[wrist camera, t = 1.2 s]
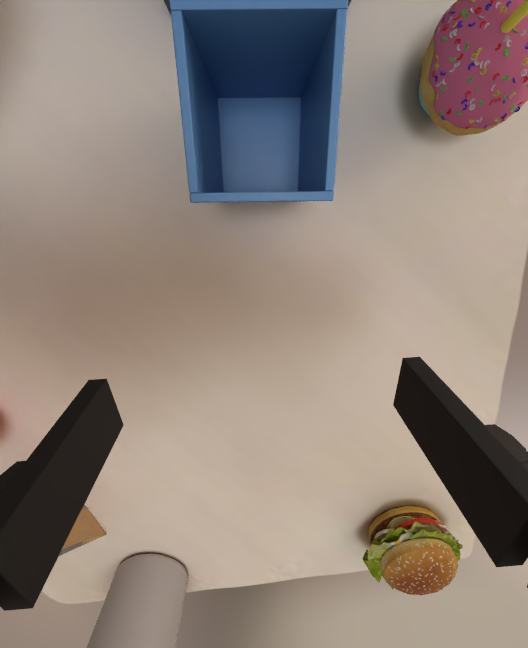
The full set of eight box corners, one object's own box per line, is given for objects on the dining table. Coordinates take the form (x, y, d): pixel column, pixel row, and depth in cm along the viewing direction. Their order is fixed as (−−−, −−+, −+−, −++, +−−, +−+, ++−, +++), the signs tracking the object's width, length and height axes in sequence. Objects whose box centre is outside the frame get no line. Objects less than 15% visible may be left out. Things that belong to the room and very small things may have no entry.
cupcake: (379, 71, 24) (479, -35, 13) (477, -11, 22) (688, -215, 11) (423, 164, 27) (534, 140, 16) (513, 98, 25) (710, 19, 14)
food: (419, 484, 44) (451, 541, 37) (456, 530, 49) (491, 588, 41) (342, 521, 47) (357, 580, 40) (383, 561, 52) (404, 620, 44)
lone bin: (302, 200, 28) (333, 200, 16) (219, 201, 28) (190, 202, 16) (306, 92, 25) (348, -7, 13) (212, 93, 25) (168, -6, 13)
